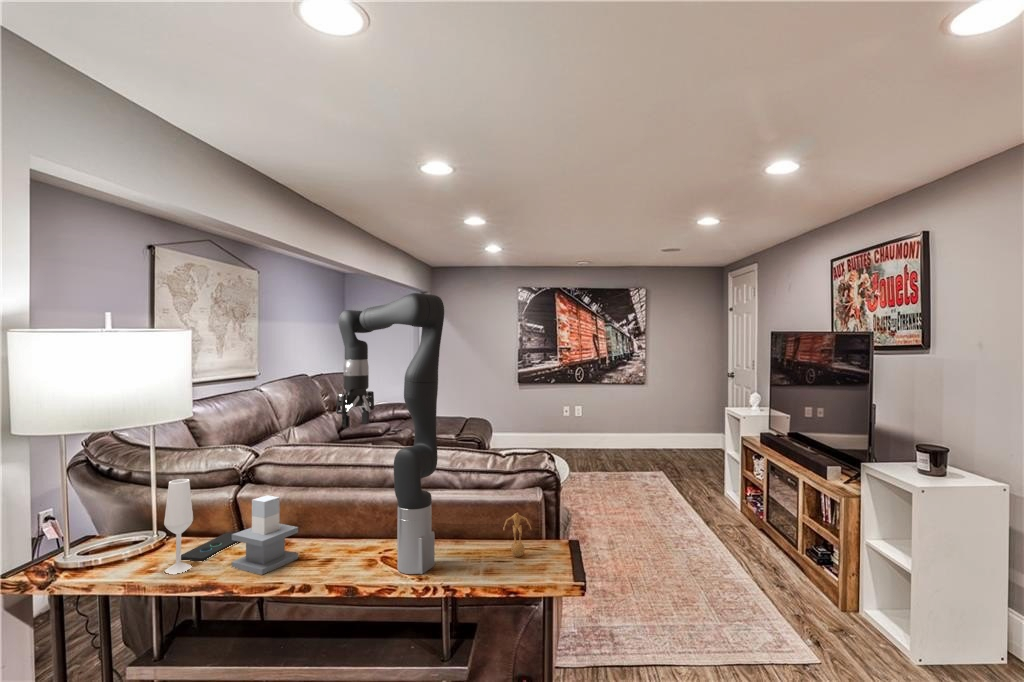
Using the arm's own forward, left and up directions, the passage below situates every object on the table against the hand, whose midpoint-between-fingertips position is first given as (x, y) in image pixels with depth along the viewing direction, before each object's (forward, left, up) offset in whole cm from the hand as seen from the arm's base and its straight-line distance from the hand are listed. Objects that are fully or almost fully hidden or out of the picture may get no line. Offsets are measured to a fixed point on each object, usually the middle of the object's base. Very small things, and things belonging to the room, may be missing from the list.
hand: (355, 425), depth 162 cm
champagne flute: (+30, +36, -36) cm, 59 cm away
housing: (+12, +23, -27) cm, 37 cm away
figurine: (-50, -12, -36) cm, 63 cm away
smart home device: (+35, +22, -37) cm, 55 cm away
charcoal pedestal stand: (+12, +23, -36) cm, 44 cm away
